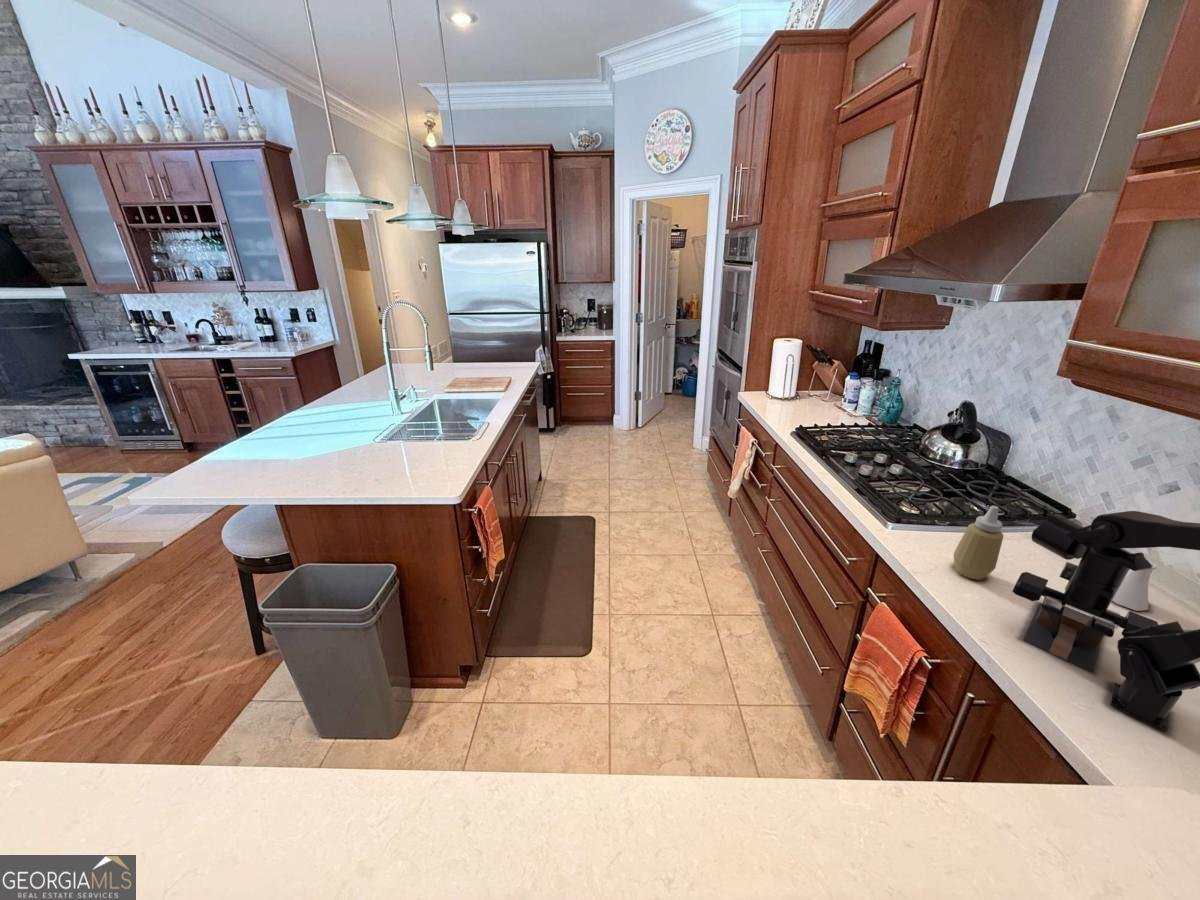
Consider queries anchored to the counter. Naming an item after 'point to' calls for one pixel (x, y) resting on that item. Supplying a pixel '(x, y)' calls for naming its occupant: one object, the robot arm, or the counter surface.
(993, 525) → the squeeze bottle
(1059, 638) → the brush
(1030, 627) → the mat
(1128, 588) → the flask
